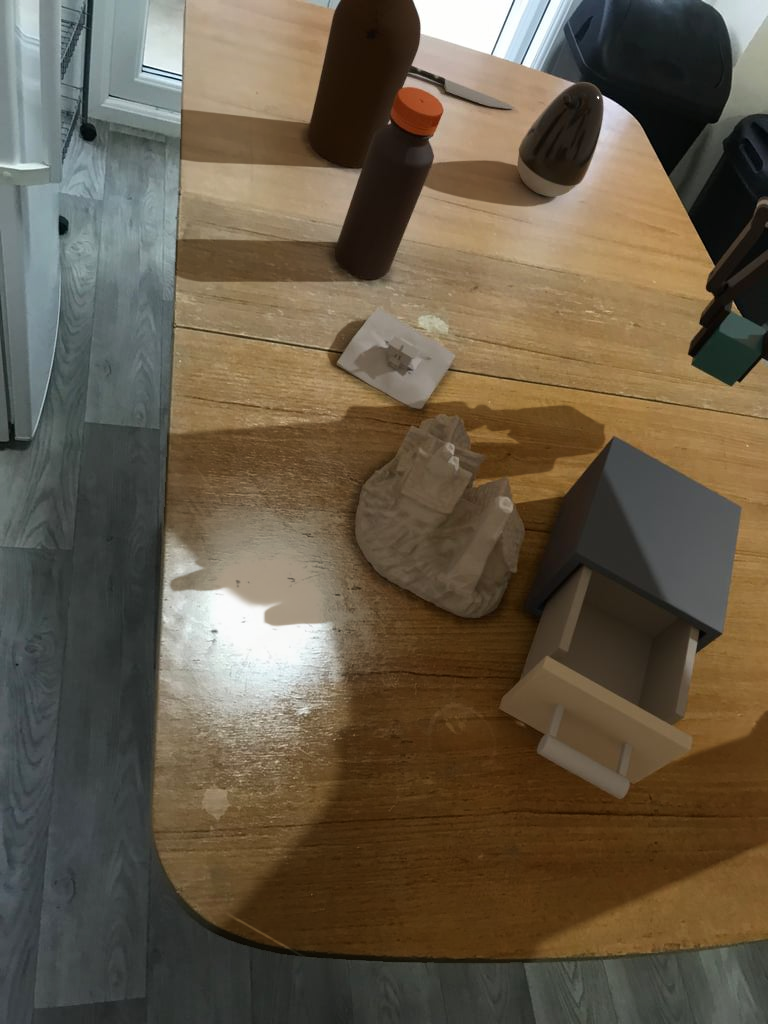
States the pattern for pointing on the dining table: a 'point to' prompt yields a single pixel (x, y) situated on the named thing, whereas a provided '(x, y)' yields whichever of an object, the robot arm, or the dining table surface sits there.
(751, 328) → the block
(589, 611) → the drawer
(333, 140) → the olive oil
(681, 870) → the dining table surface
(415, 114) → the bottle
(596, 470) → the cabinet
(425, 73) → the chef's knife
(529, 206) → the dining table surface
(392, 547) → the castle ruin model
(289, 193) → the dining table surface
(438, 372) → the grey tile
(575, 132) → the two-tone egg figure
